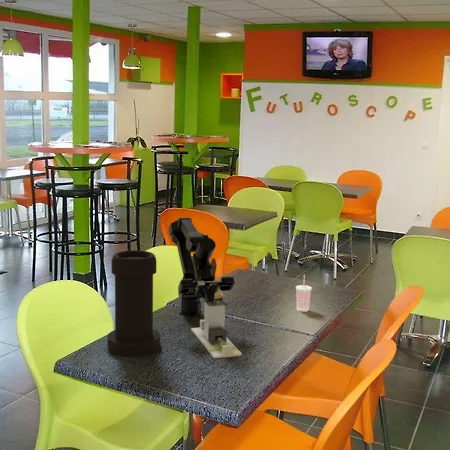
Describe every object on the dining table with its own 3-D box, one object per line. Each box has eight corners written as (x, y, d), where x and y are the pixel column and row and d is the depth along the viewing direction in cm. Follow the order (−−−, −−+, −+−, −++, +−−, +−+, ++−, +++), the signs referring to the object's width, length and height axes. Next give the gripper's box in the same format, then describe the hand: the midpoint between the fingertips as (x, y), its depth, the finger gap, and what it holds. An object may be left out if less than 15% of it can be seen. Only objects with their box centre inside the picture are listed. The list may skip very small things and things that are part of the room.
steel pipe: (202, 327, 210) (202, 321, 210) (207, 326, 211) (208, 321, 210) (223, 351, 188) (223, 345, 188) (229, 351, 189) (229, 345, 189)
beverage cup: (310, 307, 239) (312, 273, 236) (310, 312, 233) (312, 277, 230) (294, 306, 239) (296, 272, 237) (294, 311, 233) (296, 276, 231)
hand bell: (200, 298, 248) (201, 259, 245) (205, 292, 256) (206, 255, 253) (220, 299, 246) (221, 261, 243) (225, 294, 254) (226, 256, 251)
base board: (191, 329, 210) (191, 320, 210) (216, 327, 213) (216, 318, 213) (214, 358, 186) (214, 347, 186) (241, 355, 189) (242, 345, 188)
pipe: (139, 333, 206) (139, 246, 200) (170, 347, 194) (171, 255, 189) (97, 345, 194) (96, 253, 189) (127, 360, 183) (127, 263, 177)
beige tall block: (203, 335, 202) (204, 302, 200) (219, 334, 204) (220, 300, 202) (208, 340, 198) (209, 306, 196) (224, 339, 199) (225, 305, 197)
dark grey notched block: (209, 341, 197) (209, 330, 197) (223, 340, 199) (224, 328, 198) (211, 344, 195) (211, 332, 194) (226, 342, 197) (226, 331, 196)
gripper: (222, 277, 220) (231, 316, 212) (172, 280, 214) (179, 320, 206) (230, 260, 212) (240, 300, 203) (177, 263, 206) (185, 304, 197)
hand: (211, 307), depth 203 cm, fingers closed
